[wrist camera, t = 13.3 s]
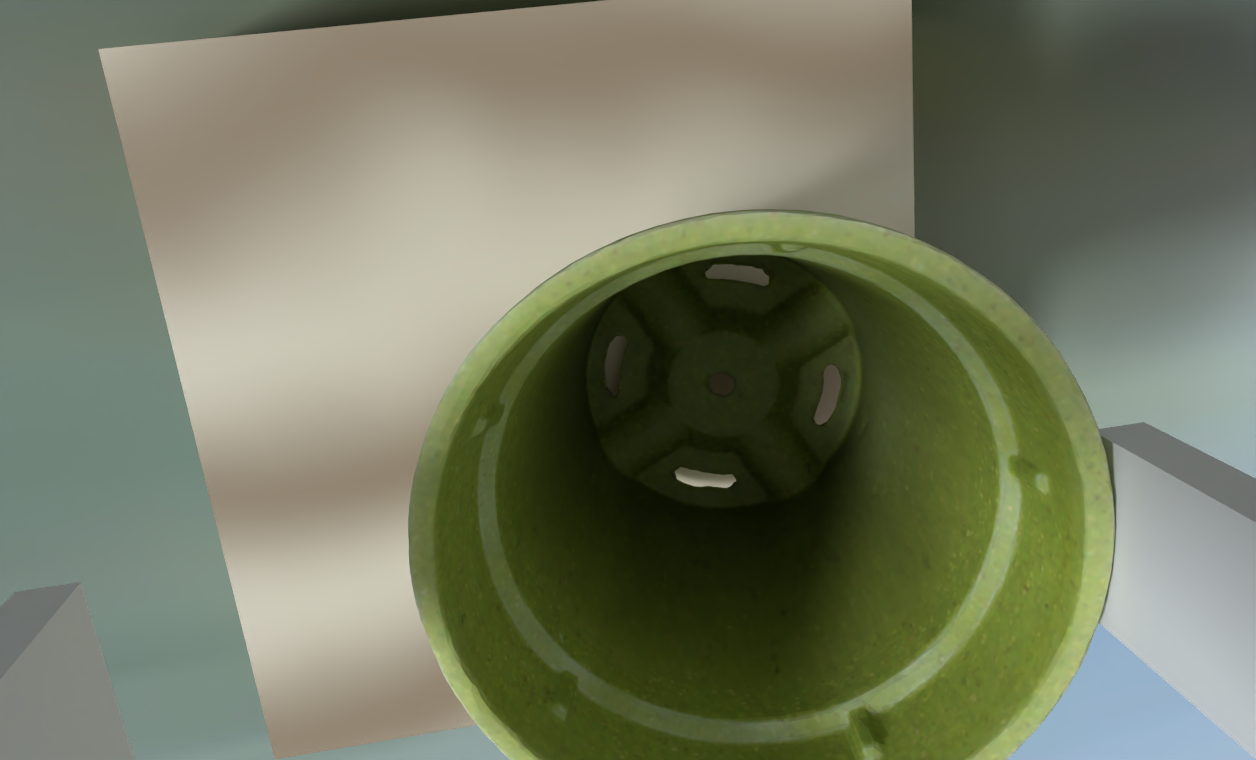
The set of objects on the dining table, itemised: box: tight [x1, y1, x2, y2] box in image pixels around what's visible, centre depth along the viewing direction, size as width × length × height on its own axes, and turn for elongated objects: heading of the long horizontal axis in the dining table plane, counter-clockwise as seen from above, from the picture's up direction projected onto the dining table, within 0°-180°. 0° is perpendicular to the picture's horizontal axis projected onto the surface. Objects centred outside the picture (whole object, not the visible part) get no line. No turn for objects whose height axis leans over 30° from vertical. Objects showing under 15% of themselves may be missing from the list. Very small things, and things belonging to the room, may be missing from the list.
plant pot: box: [408, 209, 1115, 760], centre depth 17 cm, size 9×9×9 cm
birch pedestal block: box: [98, 0, 915, 759], centre depth 24 cm, size 16×16×5 cm
